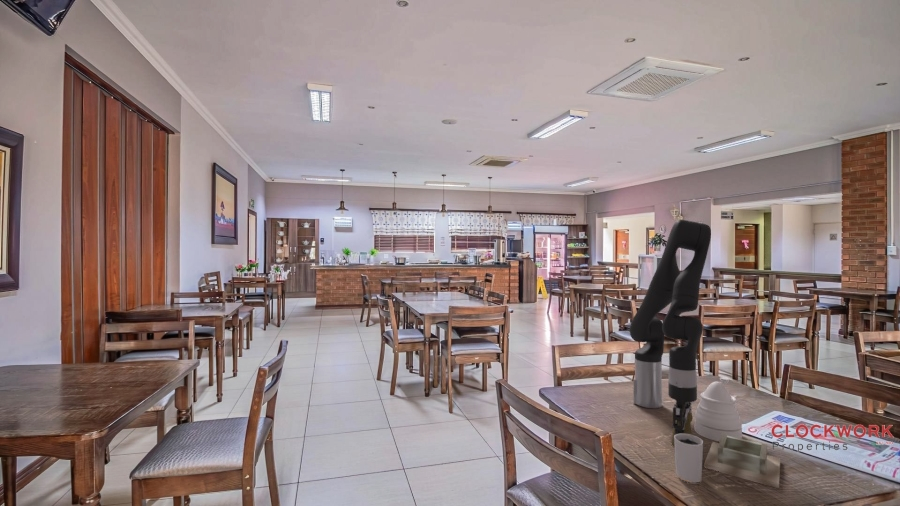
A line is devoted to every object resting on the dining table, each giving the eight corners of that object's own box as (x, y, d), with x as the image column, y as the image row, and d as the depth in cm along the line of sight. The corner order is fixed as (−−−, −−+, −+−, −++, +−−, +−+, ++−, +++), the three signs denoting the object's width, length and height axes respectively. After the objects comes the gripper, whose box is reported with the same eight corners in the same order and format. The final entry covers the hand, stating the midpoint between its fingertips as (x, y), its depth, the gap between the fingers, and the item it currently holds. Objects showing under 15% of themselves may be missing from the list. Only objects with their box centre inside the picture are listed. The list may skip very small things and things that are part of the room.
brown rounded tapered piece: (697, 452, 122) (697, 414, 122) (674, 450, 123) (674, 413, 123) (689, 442, 128) (689, 407, 128) (668, 441, 129) (668, 405, 129)
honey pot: (734, 427, 139) (734, 373, 138) (748, 445, 126) (747, 385, 126) (690, 422, 143) (690, 370, 143) (699, 439, 131) (699, 381, 130)
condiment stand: (704, 467, 114) (704, 448, 114) (712, 445, 126) (712, 428, 126) (778, 488, 104) (778, 467, 103) (780, 462, 116) (780, 443, 116)
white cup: (668, 471, 112) (668, 434, 112) (692, 469, 113) (692, 432, 112) (684, 485, 105) (684, 445, 105) (709, 483, 106) (709, 444, 106)
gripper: (673, 374, 134) (673, 425, 134) (663, 386, 123) (663, 441, 123) (700, 379, 129) (701, 431, 129) (692, 391, 118) (692, 448, 118)
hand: (682, 436), depth 126 cm, fingers open, 8 cm apart
